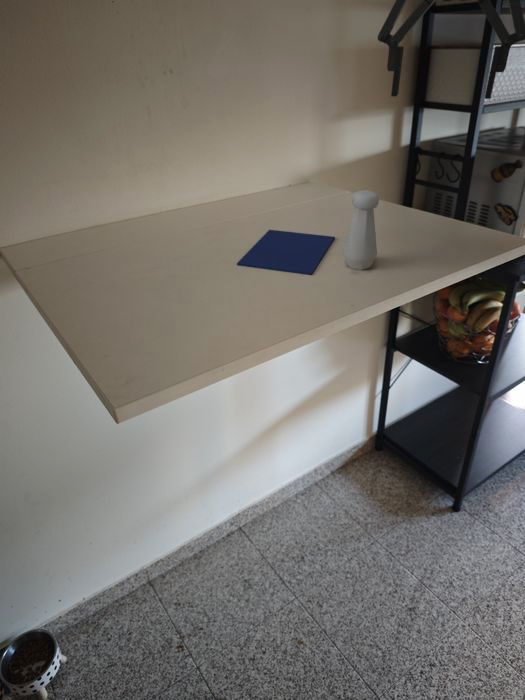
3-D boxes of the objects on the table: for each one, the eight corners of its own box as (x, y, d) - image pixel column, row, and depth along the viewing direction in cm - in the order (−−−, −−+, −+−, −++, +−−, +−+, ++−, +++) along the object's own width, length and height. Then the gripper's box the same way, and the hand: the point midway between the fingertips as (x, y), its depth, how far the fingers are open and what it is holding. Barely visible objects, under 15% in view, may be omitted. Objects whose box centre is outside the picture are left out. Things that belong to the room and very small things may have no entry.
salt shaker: (350, 273, 86) (356, 198, 79) (337, 261, 91) (342, 189, 84) (381, 269, 88) (390, 195, 80) (367, 257, 92) (374, 185, 85)
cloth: (334, 238, 100) (335, 236, 100) (311, 275, 86) (311, 272, 86) (269, 231, 104) (269, 229, 104) (236, 265, 90) (236, 263, 90)
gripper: (367, -84, 65) (354, 97, 77) (583, -101, 58) (531, 102, 70) (376, -76, 71) (362, 91, 83) (573, -90, 64) (527, 95, 75)
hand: (439, 96), depth 76 cm, fingers open, 13 cm apart
